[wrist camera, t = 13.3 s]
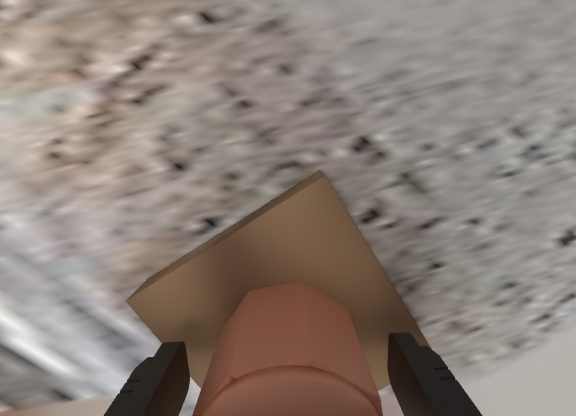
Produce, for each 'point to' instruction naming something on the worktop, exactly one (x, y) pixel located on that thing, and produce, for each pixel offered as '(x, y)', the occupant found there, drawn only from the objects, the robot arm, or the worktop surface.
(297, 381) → the cap
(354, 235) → the peg block
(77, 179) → the worktop surface
